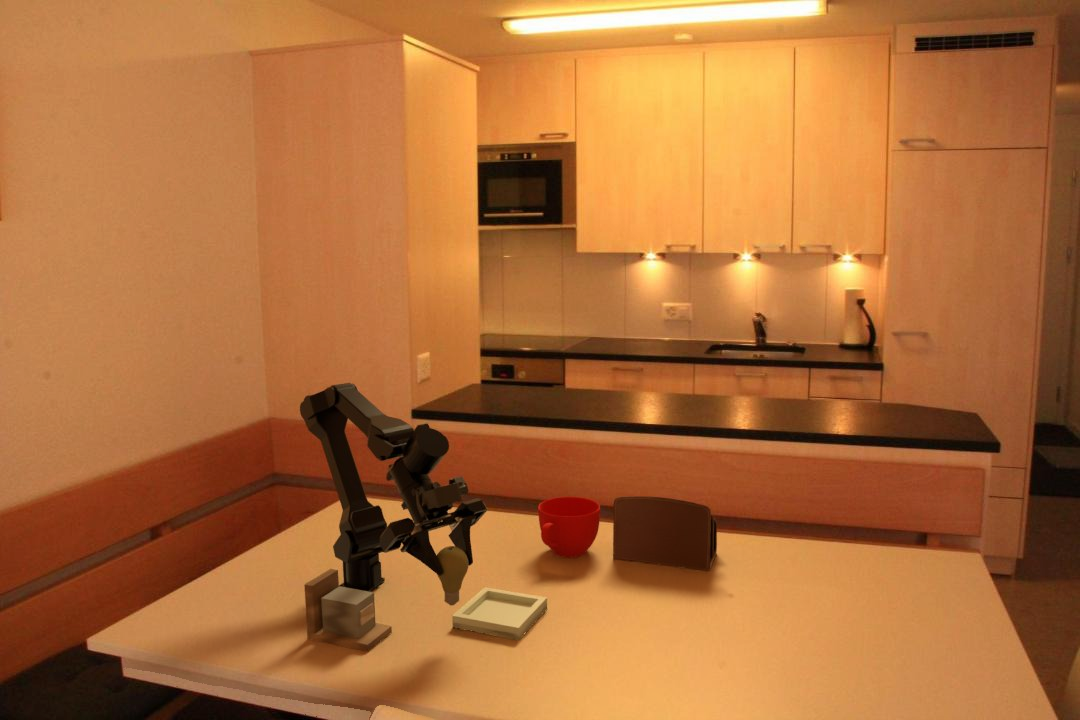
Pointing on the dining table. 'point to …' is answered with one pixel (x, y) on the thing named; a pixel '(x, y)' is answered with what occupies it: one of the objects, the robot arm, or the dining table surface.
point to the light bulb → (452, 572)
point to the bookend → (341, 614)
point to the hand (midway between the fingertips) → (456, 569)
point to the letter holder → (664, 532)
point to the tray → (500, 613)
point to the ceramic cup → (569, 525)
